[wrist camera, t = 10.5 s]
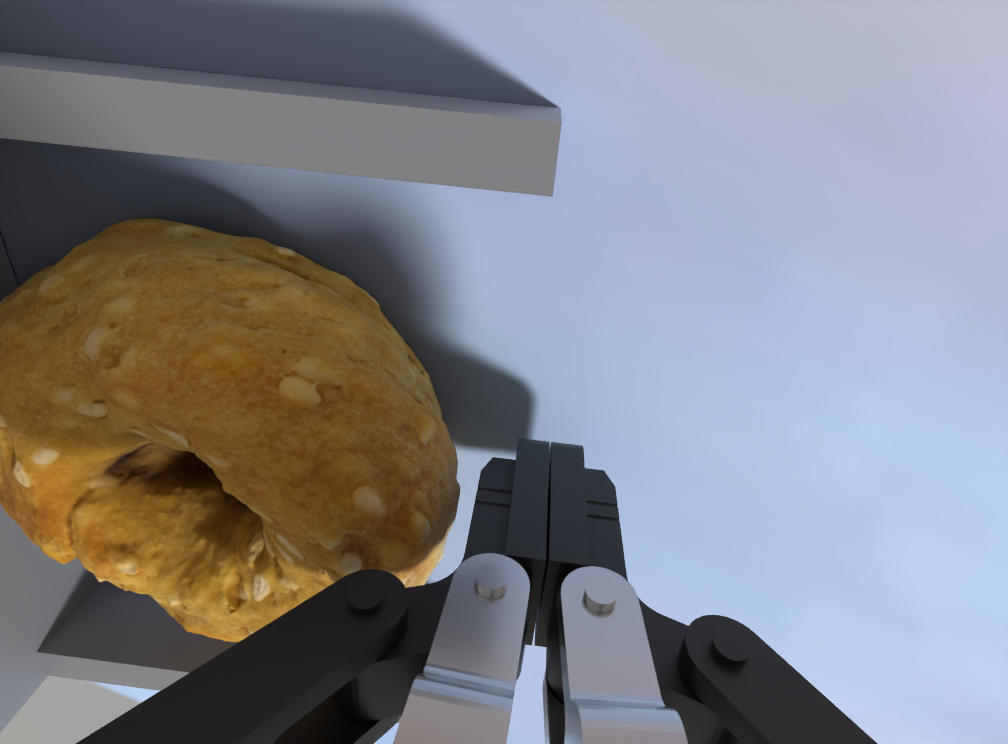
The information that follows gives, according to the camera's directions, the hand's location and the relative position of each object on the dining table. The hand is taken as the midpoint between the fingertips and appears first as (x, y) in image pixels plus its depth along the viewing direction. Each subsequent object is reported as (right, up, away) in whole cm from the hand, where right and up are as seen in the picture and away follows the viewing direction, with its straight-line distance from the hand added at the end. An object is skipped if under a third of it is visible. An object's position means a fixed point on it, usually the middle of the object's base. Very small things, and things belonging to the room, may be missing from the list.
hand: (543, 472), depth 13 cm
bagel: (-7, +2, +1) cm, 7 cm away
